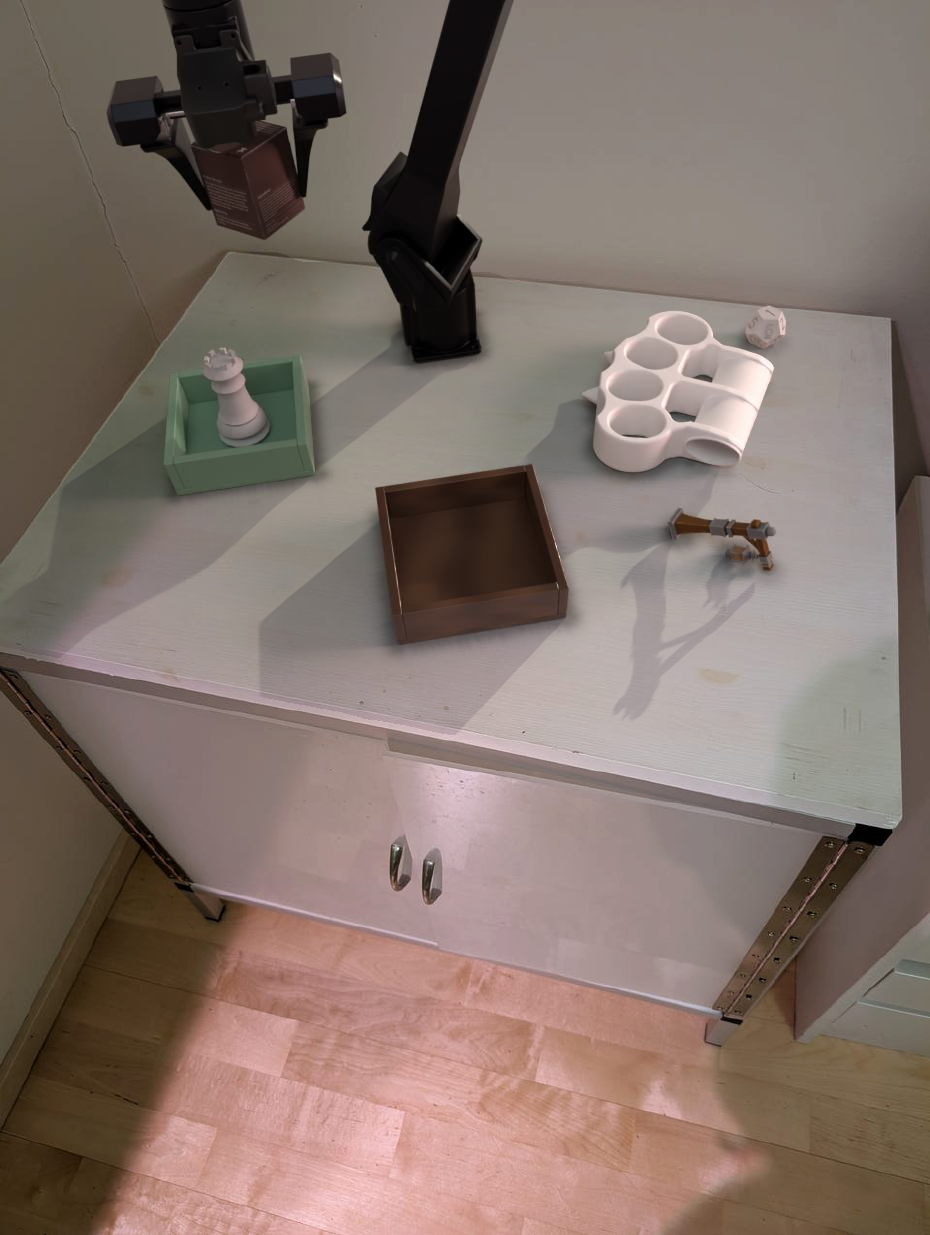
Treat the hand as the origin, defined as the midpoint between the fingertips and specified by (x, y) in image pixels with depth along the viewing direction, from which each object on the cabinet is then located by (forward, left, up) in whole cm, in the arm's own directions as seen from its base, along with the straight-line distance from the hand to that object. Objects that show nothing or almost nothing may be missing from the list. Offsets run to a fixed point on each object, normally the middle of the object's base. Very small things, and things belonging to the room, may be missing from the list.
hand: (256, 202), depth 75 cm
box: (0, 0, -2) cm, 2 cm away
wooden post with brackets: (-32, +38, -11) cm, 51 cm away
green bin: (+4, +18, -11) cm, 22 cm away
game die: (-44, +15, -11) cm, 48 cm away
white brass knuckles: (-33, +22, -11) cm, 41 cm away
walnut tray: (-13, +36, -11) cm, 40 cm away
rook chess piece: (+4, +18, -11) cm, 21 cm away
